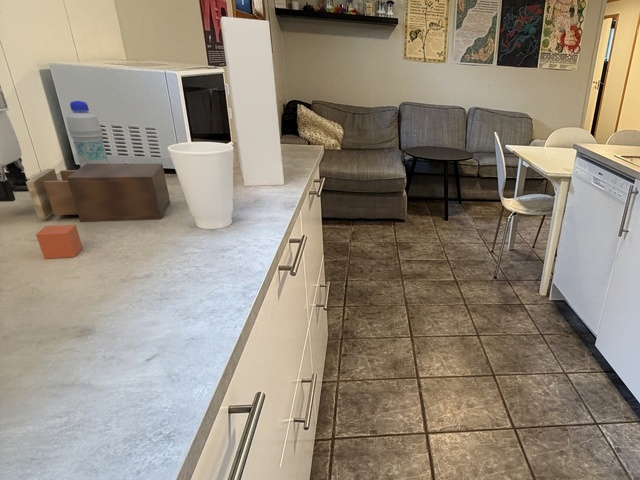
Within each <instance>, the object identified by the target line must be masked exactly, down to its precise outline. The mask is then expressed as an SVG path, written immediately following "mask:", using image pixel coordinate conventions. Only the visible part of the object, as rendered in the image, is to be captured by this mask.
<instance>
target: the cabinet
mask: <svg viewBox="0 0 640 480" xmlns="http://www.w3.org/2000/svg"><path fill="white" fill-rule="evenodd" d="M76 170H77V171H76V172H74V173H73V174H71V175H70V176H68V177H67V179H68V182H69V186H70V189H71V192H72V195H73V199H74V202H75V205H76V209H77V212H78V214H77V215H78V217H79V221H80V222H81V223H83V222H84V223H86V222H89V223H90V222H116V221H143V220H144V221H145V220H146V221H147V220H162V218H163V216H164V215H165V214H166V211H167V210H168V209H169V208H168V207H169V206H170V204H171V197H170V194H169V190H168V184H167V180H166V174H165V170H164V164H163V163H109V164H86V165H84V166H83V167H80V168H78V169H76Z"/></svg>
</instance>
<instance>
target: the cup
mask: <svg viewBox="0 0 640 480" xmlns="http://www.w3.org/2000/svg"><path fill="white" fill-rule="evenodd" d="M234 150H235V148H234V146H233V145H231V144H228V143H224V142H216V141H188V142H179V143H174V144H171V145H169V146H167V151H168V153H169V155H170V158H171V162H172V164H173V167H174V169H175V172H176V175H177V178H178V182H179V184H180V187H181V189H182V192H183V195H184V198H185V201H186V203H187V206H188V209H189V212H190V215H192V216H193V219H194V222H195V225H196V227H197V228H199V229H204V230H217V229H224V228H227V227H229V226H231V225H232V224H233V222H232V221H233V219H232V213H233V212H234Z"/></svg>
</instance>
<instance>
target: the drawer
mask: <svg viewBox="0 0 640 480" xmlns="http://www.w3.org/2000/svg"><path fill="white" fill-rule="evenodd" d="M77 170H78V169H67V170H66V169H65V170H63V169H61V170H59V173H60V177H61V179H62V180H59V179H58V176H57V173H56V169H55V168H47V169H45V170H43V171H41V172H40V173H38V174H37V175H34V176H33V177H32V178H27V179H17V178H16V177H9V178H7V179H6V181H9V183H10V185H11V188H12V189H29V195H30V199H31V201H32V204H33V206H34V209H35V212H36V216H37V218H38V219H46V218H47V217H48V216H49V215H51V214H52V213H53V215H54V216H65V215H66V216H68V215H69V216H70V215H78V212H77V209H76V205H75V202H74V199H73V195H72V192H71V189H70V186H69V182H68V179H67V177H68V176H70V175H71V174H73V173H74V172H76V171H77ZM18 183H26V184H27V186H14V185H16V184H18Z"/></svg>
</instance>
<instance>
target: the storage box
mask: <svg viewBox="0 0 640 480" xmlns="http://www.w3.org/2000/svg"><path fill="white" fill-rule="evenodd" d="M219 22H220V27H221V35H222V40H223V41H222V43H223V50H224V56H225V57H224V58H225V65H226V72H227V80H228V86H229V94H230V101H231V109H232V110H231V111H232V117H233V123H234V131H235V139H236V147H237V154H238V161H239V168H240V173H241V177H242V181H243V185H244V187H257V186H258V187H261V186H282V185H283V186H284V185H285V177H284V169H283V167H284V166H283V157H282V146H281V144H282V143H281V135H280V125H279V115H278V114H279V113H278V102H277V94H276V93H277V92H276V91H277V90H276V81H275V72H274V71H275V70H274V62H273V61H274V59H273V51H272V40H271V29H270V28H271V27H270V21H269V20H262V19H254V18H252V19H251V18H241V17H232V16H231V17H230V16H221V18H220V21H219Z"/></svg>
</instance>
